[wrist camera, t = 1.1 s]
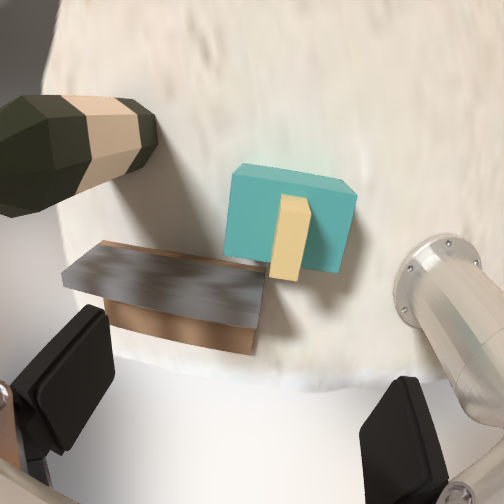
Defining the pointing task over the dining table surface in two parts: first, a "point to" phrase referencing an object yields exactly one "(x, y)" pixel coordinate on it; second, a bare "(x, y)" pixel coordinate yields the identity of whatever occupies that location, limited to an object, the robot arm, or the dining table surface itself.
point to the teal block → (288, 219)
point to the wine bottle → (68, 147)
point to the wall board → (181, 322)
